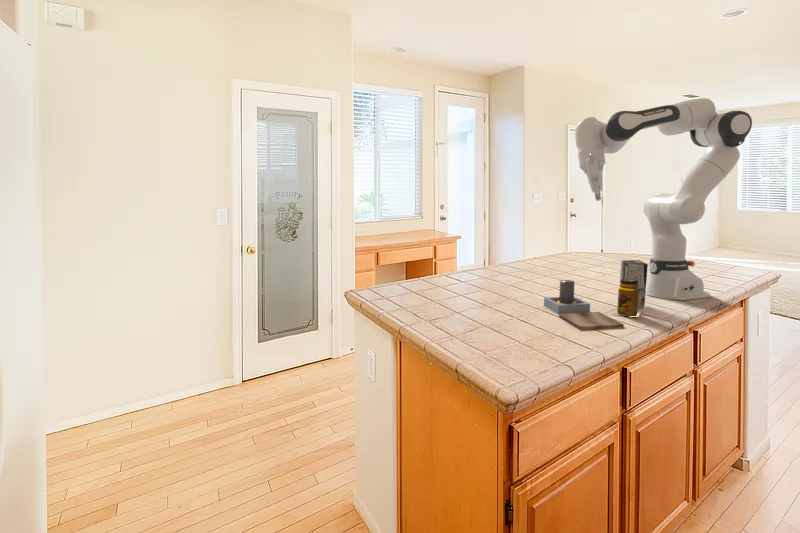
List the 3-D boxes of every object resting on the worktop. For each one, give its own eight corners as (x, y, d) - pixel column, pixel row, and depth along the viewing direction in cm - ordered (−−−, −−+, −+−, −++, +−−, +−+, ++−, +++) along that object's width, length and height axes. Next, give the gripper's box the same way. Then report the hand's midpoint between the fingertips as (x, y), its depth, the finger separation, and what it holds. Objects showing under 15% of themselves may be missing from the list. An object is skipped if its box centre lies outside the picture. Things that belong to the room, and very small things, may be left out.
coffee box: (645, 309, 154) (648, 264, 151) (625, 309, 155) (628, 263, 152) (636, 302, 163) (639, 259, 160) (618, 302, 164) (620, 259, 161)
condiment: (613, 315, 149) (615, 280, 146) (619, 309, 155) (622, 276, 153) (637, 318, 144) (639, 283, 142) (643, 312, 150) (645, 278, 148)
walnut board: (598, 314, 149) (598, 311, 149) (623, 327, 136) (623, 324, 136) (558, 316, 148) (559, 314, 148) (580, 330, 134) (580, 326, 134)
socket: (573, 303, 164) (573, 295, 163) (589, 312, 153) (590, 303, 152) (543, 305, 163) (544, 297, 162) (558, 314, 151) (558, 305, 151)
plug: (570, 305, 161) (571, 279, 159) (579, 310, 155) (580, 282, 153) (553, 306, 160) (554, 279, 159) (561, 311, 154) (562, 283, 152)
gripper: (599, 148, 152) (606, 186, 150) (602, 168, 170) (608, 202, 168) (580, 153, 155) (586, 190, 152) (585, 172, 173) (590, 205, 170)
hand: (597, 196), depth 160 cm, fingers open, 8 cm apart
